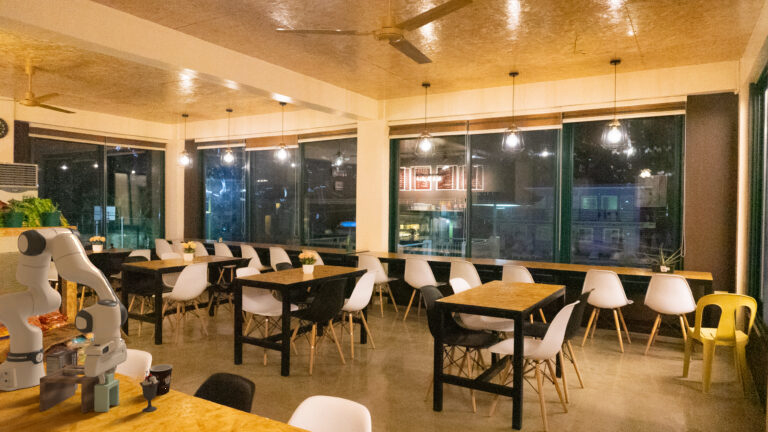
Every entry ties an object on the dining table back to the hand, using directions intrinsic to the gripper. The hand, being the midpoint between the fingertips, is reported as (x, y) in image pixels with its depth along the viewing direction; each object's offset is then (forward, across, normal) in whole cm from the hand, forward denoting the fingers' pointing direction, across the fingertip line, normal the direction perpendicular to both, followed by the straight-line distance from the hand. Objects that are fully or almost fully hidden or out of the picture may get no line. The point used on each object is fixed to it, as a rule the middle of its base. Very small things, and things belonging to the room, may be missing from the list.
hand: (107, 380), depth 183 cm
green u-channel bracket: (+10, 0, 0) cm, 10 cm away
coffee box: (+10, -13, -28) cm, 32 cm away
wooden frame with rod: (+10, -3, -14) cm, 17 cm away
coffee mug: (+10, -16, +10) cm, 22 cm away
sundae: (+10, 0, +16) cm, 19 cm away
